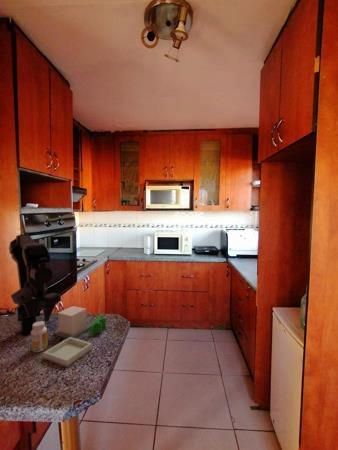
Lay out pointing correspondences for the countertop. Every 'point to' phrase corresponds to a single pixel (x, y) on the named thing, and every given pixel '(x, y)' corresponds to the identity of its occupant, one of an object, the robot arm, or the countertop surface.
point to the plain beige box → (72, 322)
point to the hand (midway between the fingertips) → (38, 318)
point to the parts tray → (67, 351)
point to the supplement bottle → (39, 337)
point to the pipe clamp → (97, 325)
